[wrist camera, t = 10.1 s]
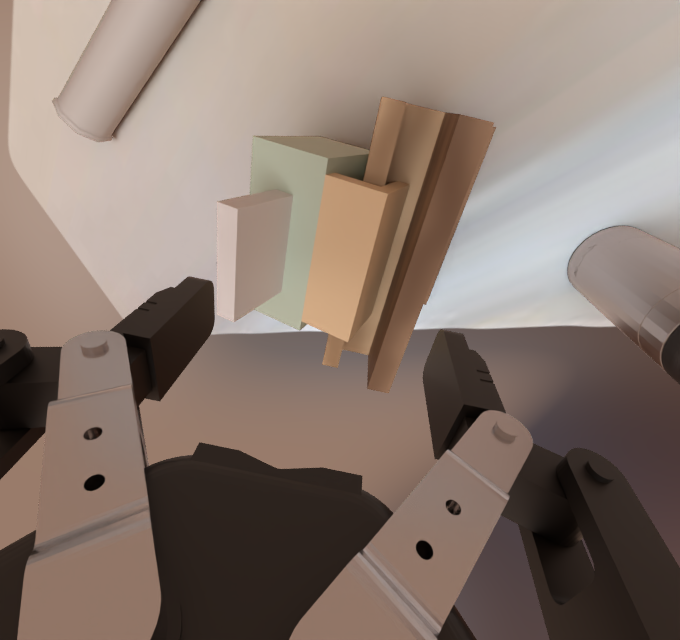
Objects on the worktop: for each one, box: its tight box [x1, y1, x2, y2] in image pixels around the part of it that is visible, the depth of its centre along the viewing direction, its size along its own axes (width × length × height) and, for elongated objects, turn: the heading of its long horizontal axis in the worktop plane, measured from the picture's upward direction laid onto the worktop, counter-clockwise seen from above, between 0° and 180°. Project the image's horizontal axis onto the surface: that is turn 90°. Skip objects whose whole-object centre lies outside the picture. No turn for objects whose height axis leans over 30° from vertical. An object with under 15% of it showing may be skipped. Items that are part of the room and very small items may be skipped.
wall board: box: [322, 97, 496, 393], centre depth 34 cm, size 12×22×20 cm, turn 169°
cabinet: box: [217, 136, 410, 342], centre depth 28 cm, size 10×14×16 cm
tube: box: [52, 0, 201, 142], centre depth 33 cm, size 5×5×25 cm
